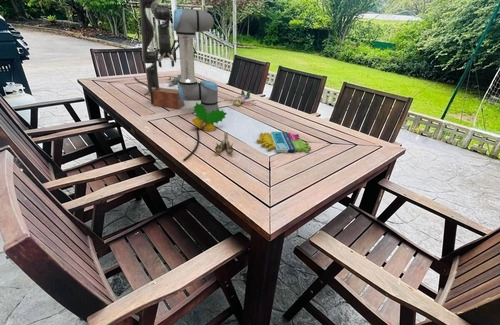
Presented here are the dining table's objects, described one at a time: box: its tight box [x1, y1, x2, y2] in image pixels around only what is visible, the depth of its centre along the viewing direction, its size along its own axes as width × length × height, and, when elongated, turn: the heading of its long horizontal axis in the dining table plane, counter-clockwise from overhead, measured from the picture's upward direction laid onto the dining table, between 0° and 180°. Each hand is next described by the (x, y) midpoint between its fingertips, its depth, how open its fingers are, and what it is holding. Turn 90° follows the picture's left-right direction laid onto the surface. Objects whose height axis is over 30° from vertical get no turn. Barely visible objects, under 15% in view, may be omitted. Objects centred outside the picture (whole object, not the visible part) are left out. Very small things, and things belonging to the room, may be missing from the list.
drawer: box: [143, 89, 155, 105], centre depth 198 cm, size 24×9×10 cm, turn 78°
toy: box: [223, 89, 257, 106], centre depth 219 cm, size 28×7×30 cm
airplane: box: [165, 74, 181, 87], centre depth 265 cm, size 38×32×10 cm
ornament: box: [191, 101, 228, 132], centre depth 162 cm, size 21×8×15 cm, turn 105°
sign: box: [256, 131, 312, 154], centre depth 152 cm, size 26×2×30 cm
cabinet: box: [152, 87, 185, 110], centre depth 197 cm, size 20×11×12 cm, turn 78°
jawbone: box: [214, 131, 234, 156], centre depth 136 cm, size 9×15×10 cm
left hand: (166, 67), depth 184 cm, fingers open, 8 cm apart
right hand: (184, 62), depth 211 cm, fingers open, 13 cm apart
